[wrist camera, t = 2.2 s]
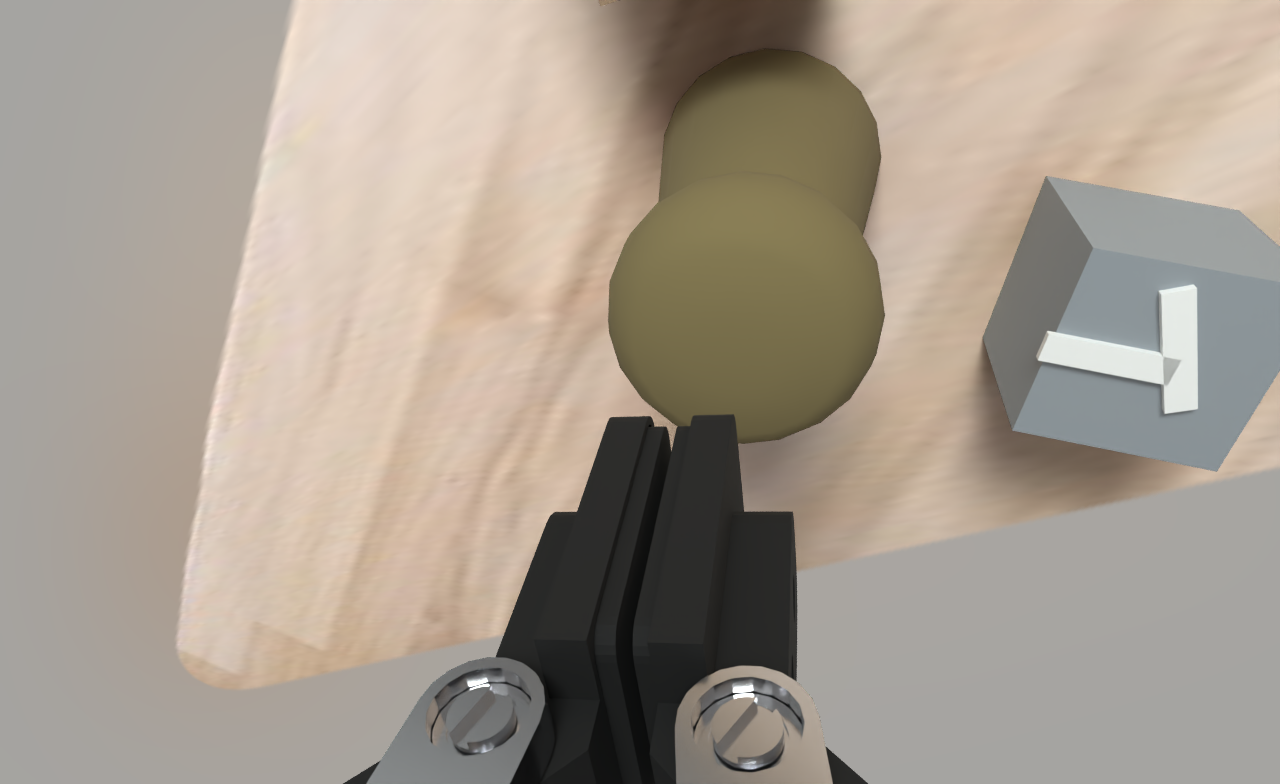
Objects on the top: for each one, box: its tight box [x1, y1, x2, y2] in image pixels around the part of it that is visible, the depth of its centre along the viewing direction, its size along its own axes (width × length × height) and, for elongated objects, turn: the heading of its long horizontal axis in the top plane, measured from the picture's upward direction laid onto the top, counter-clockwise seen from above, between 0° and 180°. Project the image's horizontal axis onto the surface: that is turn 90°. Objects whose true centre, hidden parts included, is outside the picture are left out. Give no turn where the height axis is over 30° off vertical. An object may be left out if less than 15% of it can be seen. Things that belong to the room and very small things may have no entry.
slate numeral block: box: [983, 176, 1280, 472], centre depth 23 cm, size 5×5×5 cm
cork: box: [608, 49, 885, 444], centre depth 20 cm, size 6×6×11 cm
